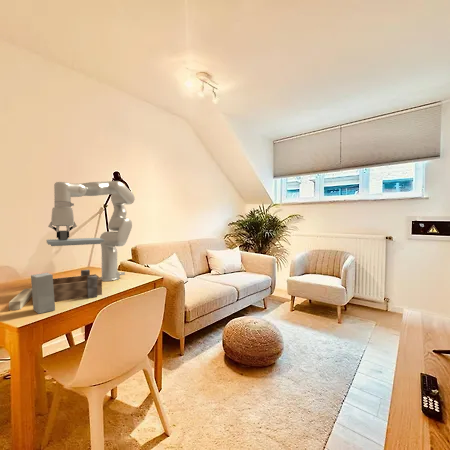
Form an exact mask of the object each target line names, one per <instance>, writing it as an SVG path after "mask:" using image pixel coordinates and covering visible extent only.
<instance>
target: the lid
mask: <svg viewBox="0 0 450 450" xmlns="http://www.w3.org/2000/svg"><path fill="white" fill-rule="evenodd" d="M59 232H60V239H58V238H56V239H51V238H50V239H46V244H47V245H50V247H63V246H83V245H84V246H85V245H87V246H88V245H101V242H104V239H100V237H88V238H87V237H86V238H85V237H84V238H79V237H78V238H68V239H67V231H66V230H59Z"/></svg>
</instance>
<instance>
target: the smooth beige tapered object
mask: <svg viewBox="0 0 450 450" xmlns="http://www.w3.org/2000/svg"><path fill="white" fill-rule="evenodd" d="M31 298H33V297H32V287H31V288H30V287H29V288H24V289H22V290H21V291H20V292H18V294H16V295H15V296H14V297H13V298H12V299H11V300H10V301H9V302H8V311H9V310H12V311H18V310H19V309H20V310H22V309H23V307H24V306H25V305H26V304H27V303H28V302H29V301H30V300H31ZM20 310H19V311H20Z"/></svg>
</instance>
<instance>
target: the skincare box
mask: <svg viewBox="0 0 450 450" xmlns="http://www.w3.org/2000/svg"><path fill="white" fill-rule="evenodd" d="M30 279H31V280H30V283H31V284H30V285H31V288H32V297H31V298H32V309H33V311H35V312H36V313H37V314H43V313H48V312H52V311H55V310H56V304H55V301H54V288H53V279H54V277H53V274H52V273H49V272H42V273H36V274H31V275H30Z"/></svg>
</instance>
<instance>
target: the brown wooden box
mask: <svg viewBox="0 0 450 450" xmlns="http://www.w3.org/2000/svg"><path fill="white" fill-rule="evenodd" d="M90 271H91V270H90V269H81V270H80V275H77V276H76V275H75V276H68V277H67V276H65V277H59V278H53V288H54V301H55V302H61V301H69V300H75V299H81V298H87V299H94V298H98V296H101V295H103V281H102V279H101V278H100V277H101V276H99V275H97V274H96V273H95V274H90Z"/></svg>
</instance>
